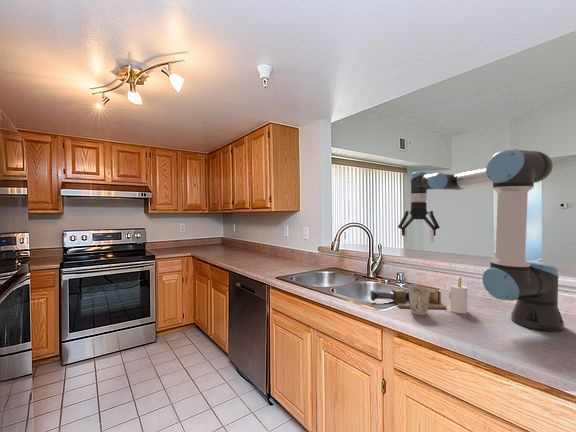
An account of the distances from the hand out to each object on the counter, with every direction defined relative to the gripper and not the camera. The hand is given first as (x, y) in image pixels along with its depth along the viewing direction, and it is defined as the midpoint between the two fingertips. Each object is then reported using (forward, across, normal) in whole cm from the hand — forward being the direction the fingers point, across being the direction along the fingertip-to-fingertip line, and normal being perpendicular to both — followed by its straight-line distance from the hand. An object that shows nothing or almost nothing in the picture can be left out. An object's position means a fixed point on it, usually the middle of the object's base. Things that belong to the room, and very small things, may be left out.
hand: (418, 242), depth 151 cm
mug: (+27, +11, +34) cm, 45 cm away
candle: (+27, -8, +28) cm, 39 cm away
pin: (+26, +16, +17) cm, 35 cm away
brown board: (+26, +7, +16) cm, 32 cm away
